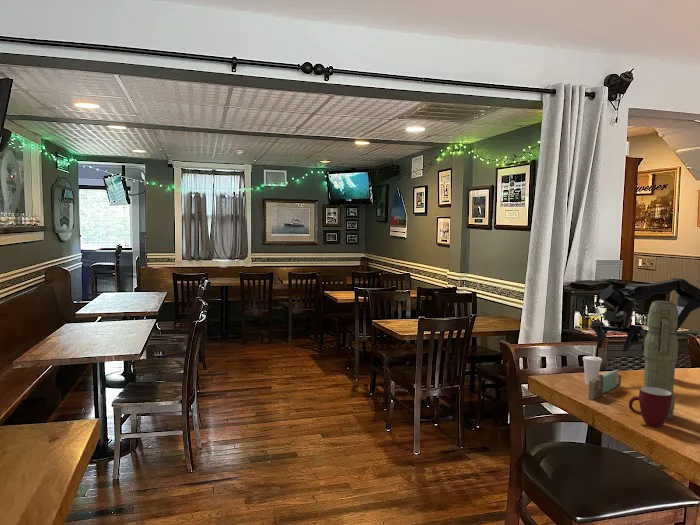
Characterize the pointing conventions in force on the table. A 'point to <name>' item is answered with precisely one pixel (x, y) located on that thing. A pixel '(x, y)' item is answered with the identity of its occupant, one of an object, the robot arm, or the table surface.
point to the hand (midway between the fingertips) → (611, 349)
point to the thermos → (661, 348)
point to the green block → (610, 381)
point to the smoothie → (591, 367)
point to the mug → (653, 405)
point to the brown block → (598, 386)
